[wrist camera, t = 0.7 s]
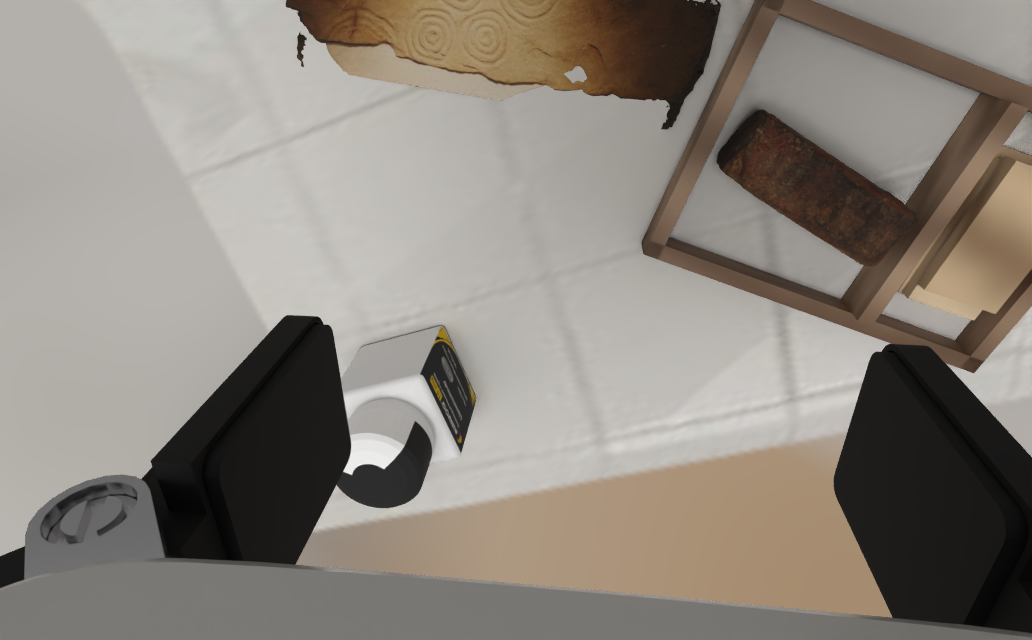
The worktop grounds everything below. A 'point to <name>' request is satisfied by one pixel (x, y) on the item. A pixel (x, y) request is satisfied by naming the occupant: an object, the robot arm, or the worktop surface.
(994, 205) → the offcut stack
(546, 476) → the worktop surface
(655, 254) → the rack
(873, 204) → the brick
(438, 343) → the medicine bottle
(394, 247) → the worktop surface
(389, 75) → the parchment
